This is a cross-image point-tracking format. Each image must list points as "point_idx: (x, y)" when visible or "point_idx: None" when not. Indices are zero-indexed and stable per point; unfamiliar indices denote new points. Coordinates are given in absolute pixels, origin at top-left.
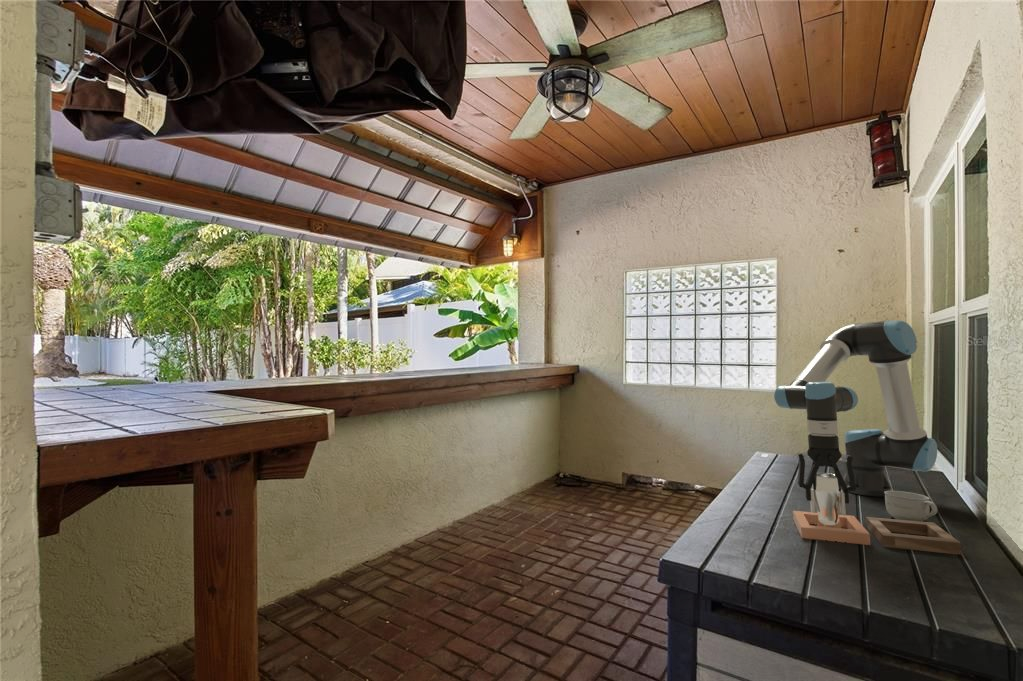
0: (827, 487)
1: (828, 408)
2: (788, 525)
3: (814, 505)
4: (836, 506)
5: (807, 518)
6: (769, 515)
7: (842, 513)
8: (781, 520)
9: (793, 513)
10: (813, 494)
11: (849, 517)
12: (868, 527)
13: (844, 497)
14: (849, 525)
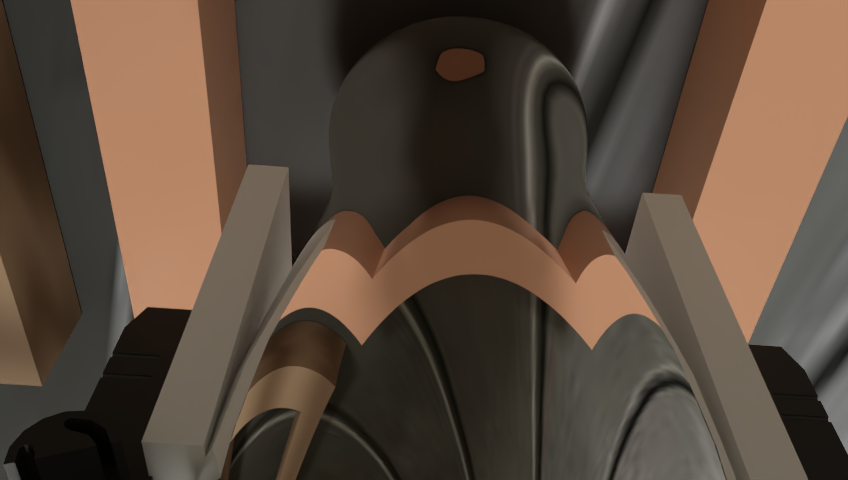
0: (545, 473)
1: None
2: (811, 211)
3: (675, 264)
4: (362, 199)
5: None
6: (845, 425)
7: (283, 188)
8: (803, 331)
9: None
10: (737, 412)
11: None
12: (61, 274)
13: (173, 362)
14: (230, 191)
